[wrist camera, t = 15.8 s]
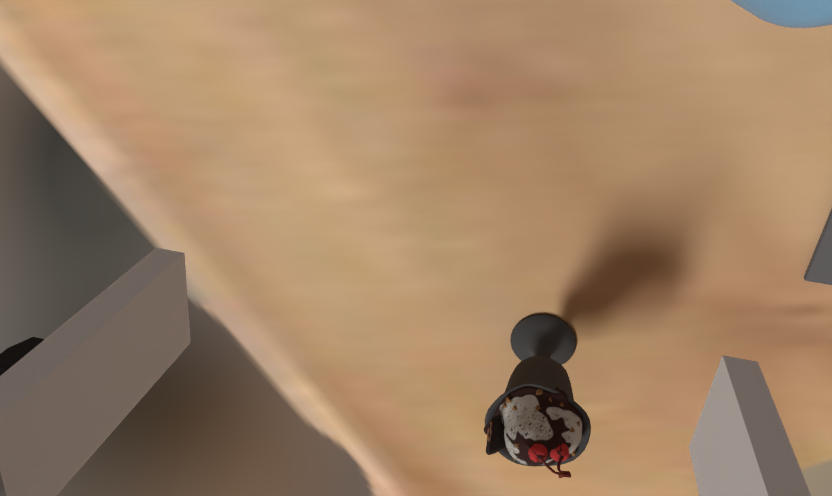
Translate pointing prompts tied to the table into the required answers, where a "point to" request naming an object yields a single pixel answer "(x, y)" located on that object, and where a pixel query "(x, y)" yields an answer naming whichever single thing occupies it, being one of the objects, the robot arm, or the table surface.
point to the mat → (822, 257)
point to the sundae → (539, 400)
